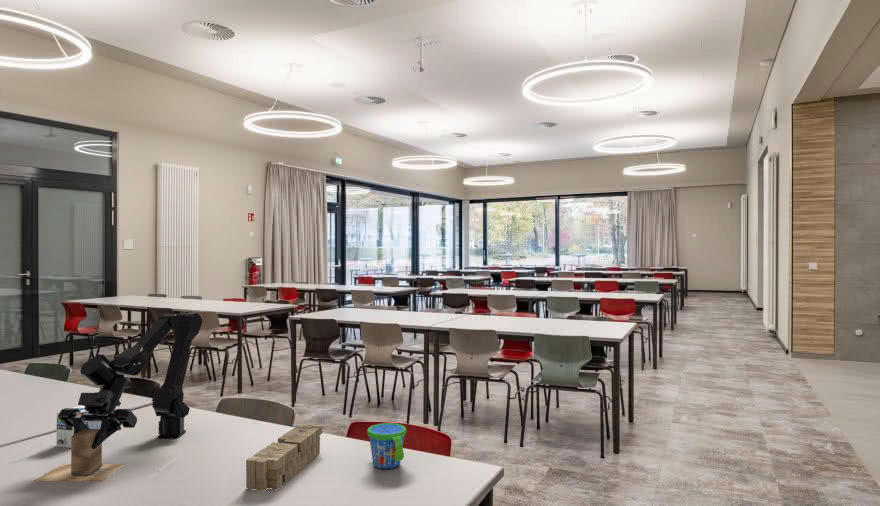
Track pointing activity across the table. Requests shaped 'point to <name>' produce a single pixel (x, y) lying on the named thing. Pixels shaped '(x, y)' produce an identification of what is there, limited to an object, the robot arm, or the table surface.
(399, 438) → the snack cup
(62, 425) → the light bulb box
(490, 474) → the table surface
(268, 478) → the block tower
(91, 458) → the block
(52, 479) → the board
